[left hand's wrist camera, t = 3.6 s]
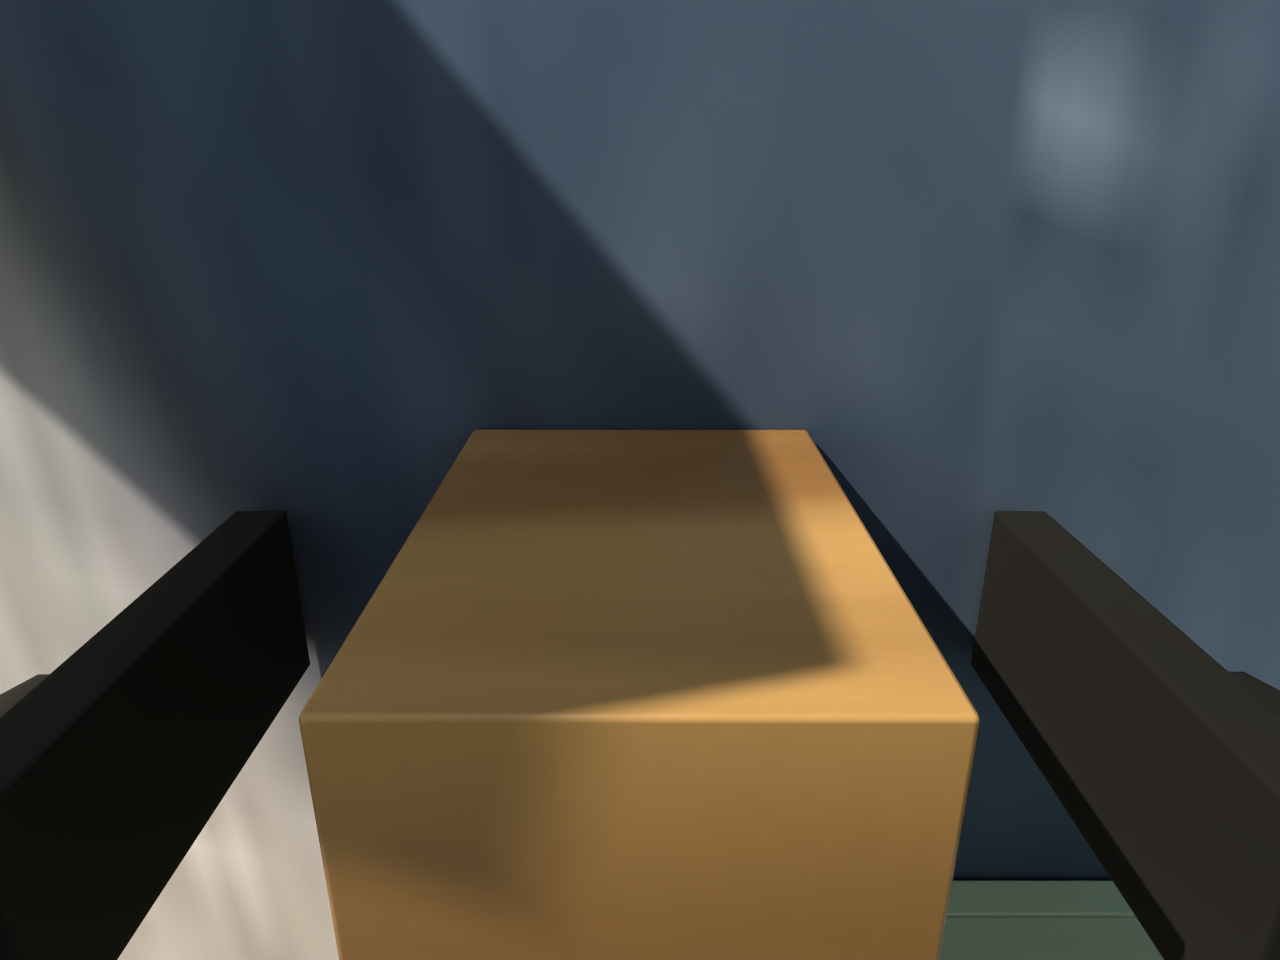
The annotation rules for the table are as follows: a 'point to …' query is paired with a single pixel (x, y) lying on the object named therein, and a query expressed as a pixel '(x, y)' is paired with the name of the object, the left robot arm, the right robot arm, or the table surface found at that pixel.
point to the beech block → (639, 717)
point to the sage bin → (1042, 922)
